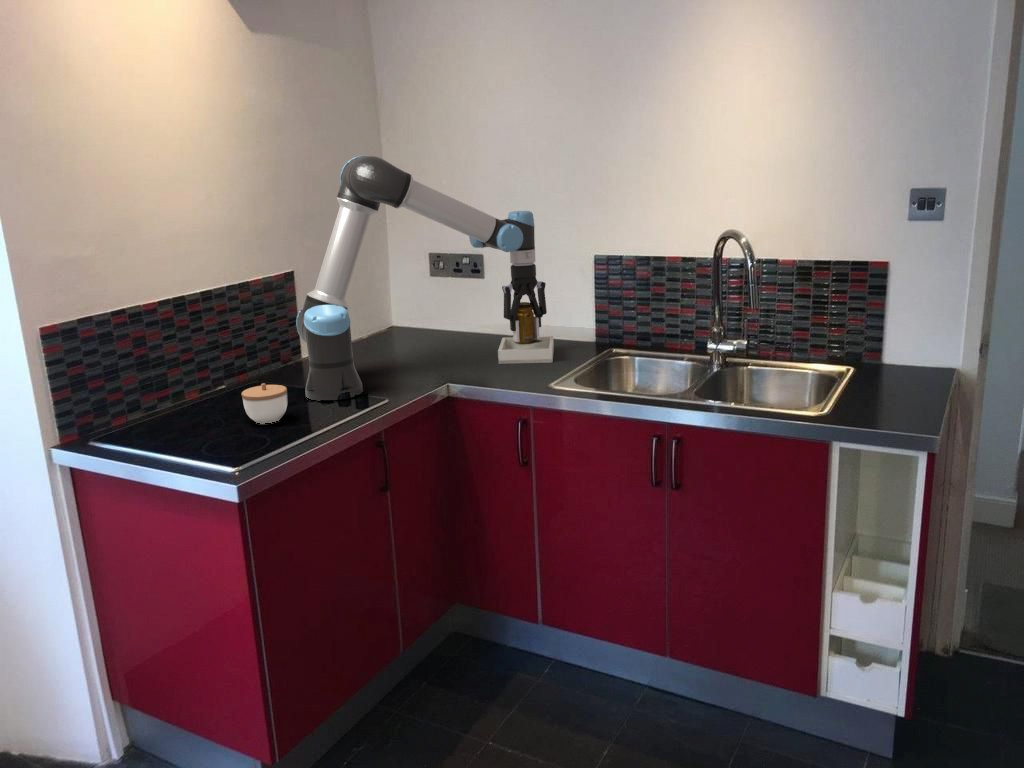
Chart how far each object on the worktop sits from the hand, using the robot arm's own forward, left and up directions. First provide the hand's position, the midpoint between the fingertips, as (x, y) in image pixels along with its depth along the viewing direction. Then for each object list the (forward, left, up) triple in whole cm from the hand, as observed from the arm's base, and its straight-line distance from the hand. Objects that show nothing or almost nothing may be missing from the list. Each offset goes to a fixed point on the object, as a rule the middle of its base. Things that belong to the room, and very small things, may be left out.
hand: (526, 339), depth 272 cm
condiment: (0, +2, -1) cm, 2 cm away
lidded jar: (-61, -60, -5) cm, 86 cm away
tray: (0, 0, -5) cm, 5 cm away
